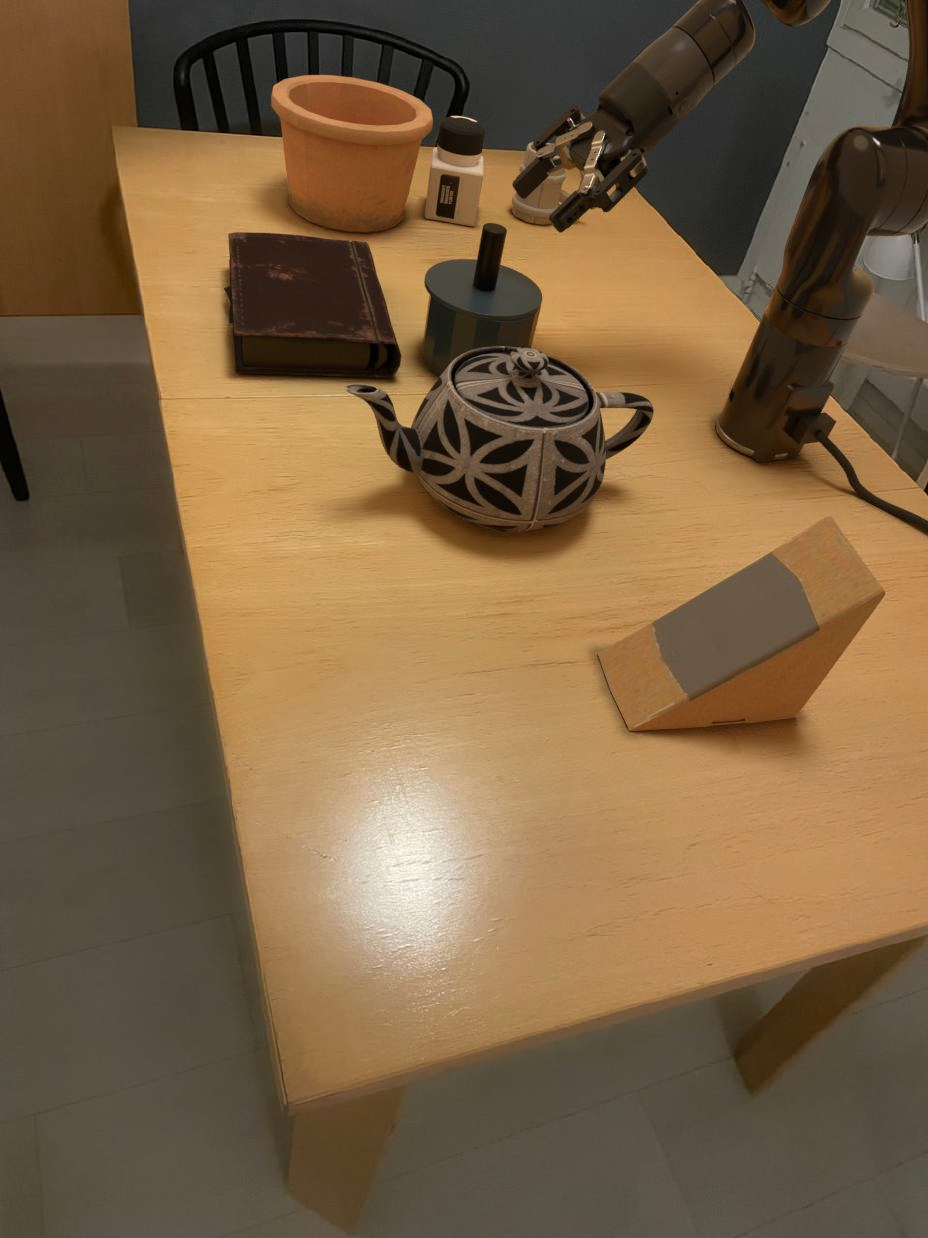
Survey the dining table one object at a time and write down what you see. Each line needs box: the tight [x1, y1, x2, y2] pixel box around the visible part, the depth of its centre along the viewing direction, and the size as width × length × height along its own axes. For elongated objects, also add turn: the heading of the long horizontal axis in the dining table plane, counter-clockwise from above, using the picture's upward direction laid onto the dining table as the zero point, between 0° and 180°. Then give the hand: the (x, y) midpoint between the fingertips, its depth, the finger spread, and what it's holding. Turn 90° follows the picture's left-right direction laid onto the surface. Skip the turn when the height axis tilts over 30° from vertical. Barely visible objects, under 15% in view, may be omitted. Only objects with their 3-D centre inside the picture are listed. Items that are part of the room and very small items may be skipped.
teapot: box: [343, 346, 655, 533], centre depth 82 cm, size 19×31×15 cm, turn 106°
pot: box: [421, 294, 542, 378], centre depth 101 cm, size 12×12×8 cm
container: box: [424, 115, 486, 227], centre depth 130 cm, size 8×8×13 cm
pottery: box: [270, 74, 434, 234], centre depth 124 cm, size 22×22×14 cm
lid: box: [423, 222, 544, 321], centre depth 96 cm, size 13×13×8 cm
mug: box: [511, 141, 585, 226], centre depth 135 cm, size 8×12×12 cm, turn 92°
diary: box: [223, 231, 402, 379], centre depth 103 cm, size 19×25×5 cm
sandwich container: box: [597, 515, 886, 732], centre depth 68 cm, size 9×15×15 cm, turn 102°
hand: (535, 208), depth 93 cm, fingers open, 8 cm apart
